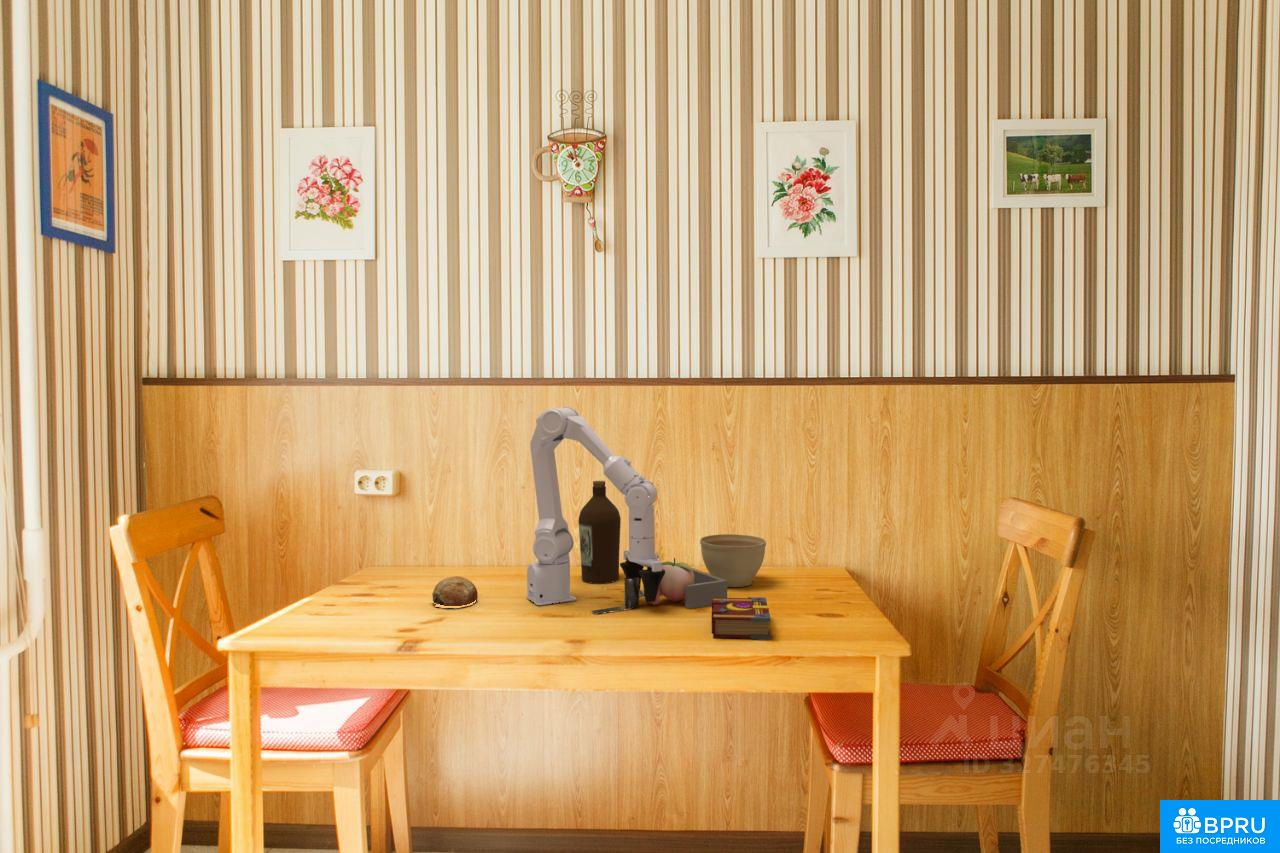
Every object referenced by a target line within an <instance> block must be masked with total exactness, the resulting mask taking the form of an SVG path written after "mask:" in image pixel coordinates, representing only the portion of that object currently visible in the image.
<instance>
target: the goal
mask: <svg viewBox="0 0 1280 853" xmlns="http://www.w3.org/2000/svg"><path fill="white" fill-rule="evenodd" d="M691 568H692V570H693V573H694V584H691V585H685V598H684V599H685V602H684V606H685V609H687V610H691V609H698V608H704V607H710V606H711V607H712V600H713V598H728V587H727V581H726V580H724V579H721V578H718V577H716V576H713V575H711V574H710V573H709V572H705V571H702V570H699V569H697V568H694V567H691ZM660 596H662V595H661V593H660Z"/></svg>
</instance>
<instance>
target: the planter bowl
mask: <svg viewBox="0 0 1280 853" xmlns="http://www.w3.org/2000/svg"><path fill="white" fill-rule="evenodd" d="M699 544H700V548H701V550H700V551H701V557H702V560H703V563H704V566H705V567H706V569H707V573H708V574H710V575H713V576H716V577H718V578H721V579H724V580H726V581H727V588H743V587H748V586H752V583H753V579H754V578H755V577H756V575H757V574H758V572H759V570H760V569H761V567H762V564H763V562H764V559H765V554H766V553H765V552H766V546H767V540H766V539H764V538H762V537H759V536H756V535H755V536H754V535H747V534H737V533H736V534H735V533H734V534H731V533H724V534H723V533H721V534H719V533H718V534H712V535H711V534H709V535H705V536H702V537H701V538H700V539H699Z"/></svg>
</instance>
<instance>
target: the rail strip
mask: <svg viewBox="0 0 1280 853" xmlns="http://www.w3.org/2000/svg"><path fill="white" fill-rule="evenodd" d="M631 608H633V607H626V606H625V605H620V606H612V607H608V608H607V607H606V608H600V609H594V610H591V611H592V612H593V613H595V614H597V613H604V612H610V611H618V610H624V609H631ZM631 610H632V609H631ZM624 611H625V610H624ZM618 612H619V611H618ZM593 613H592V614H593ZM595 614H594V615H595Z"/></svg>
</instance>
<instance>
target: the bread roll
mask: <svg viewBox="0 0 1280 853" xmlns="http://www.w3.org/2000/svg"><path fill="white" fill-rule="evenodd" d="M478 596H479V594H478V589H477V587H476V585H475V584H474V583H473V582H472V581H471V580H469V579H468V578H466V577H463V576H457V575H455V576H450V577H449V576H447V577H446V578H444V579H442V580H440V581H439V582H438V583H437V584H436V585H435V586H434V589H433V591H432V602H434V603H436V604H440V605H444V606H462V605H467V604H470V603H472V602H474V601H475V600H477V601H478V598H479V597H478Z"/></svg>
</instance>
